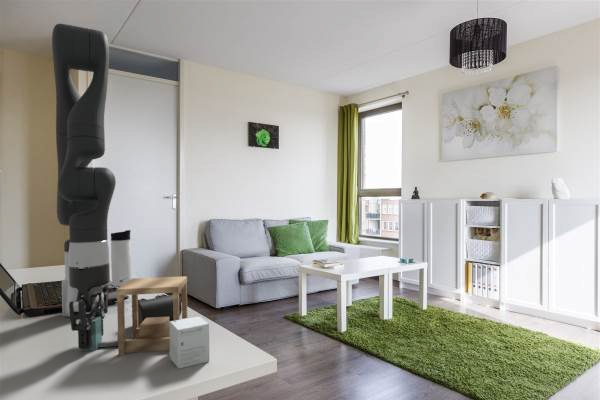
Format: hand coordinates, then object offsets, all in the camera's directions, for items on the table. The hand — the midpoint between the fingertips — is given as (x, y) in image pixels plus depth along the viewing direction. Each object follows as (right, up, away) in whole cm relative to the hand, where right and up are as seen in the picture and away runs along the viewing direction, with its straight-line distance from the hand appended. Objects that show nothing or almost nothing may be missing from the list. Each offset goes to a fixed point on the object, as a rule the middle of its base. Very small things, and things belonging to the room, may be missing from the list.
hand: (91, 342), depth 83 cm
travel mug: (-18, -1, +55) cm, 58 cm away
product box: (+23, -1, -7) cm, 24 cm away
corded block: (+7, -1, +1) cm, 7 cm away
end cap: (+8, -1, +15) cm, 17 cm away
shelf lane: (+13, -1, +1) cm, 13 cm away
